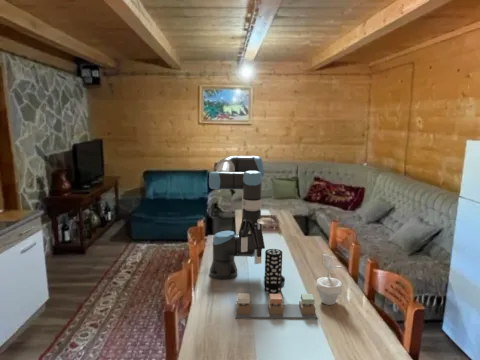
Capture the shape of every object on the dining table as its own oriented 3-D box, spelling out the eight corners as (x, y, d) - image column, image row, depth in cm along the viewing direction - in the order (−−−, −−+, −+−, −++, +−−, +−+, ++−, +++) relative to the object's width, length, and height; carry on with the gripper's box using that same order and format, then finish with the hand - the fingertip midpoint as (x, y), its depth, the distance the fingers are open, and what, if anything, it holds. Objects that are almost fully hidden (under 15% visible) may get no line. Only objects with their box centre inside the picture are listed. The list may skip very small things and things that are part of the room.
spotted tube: (271, 284, 188) (272, 247, 185) (284, 290, 182) (285, 252, 179) (260, 289, 183) (261, 251, 179) (273, 295, 177) (274, 256, 173)
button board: (235, 305, 167) (235, 297, 166) (312, 306, 168) (312, 298, 167) (235, 318, 156) (235, 310, 155) (317, 319, 157) (318, 310, 156)
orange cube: (269, 304, 164) (269, 293, 163) (280, 304, 164) (280, 293, 163) (270, 310, 159) (270, 299, 158) (281, 310, 159) (282, 299, 158)
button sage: (300, 304, 164) (300, 293, 163) (311, 304, 164) (312, 294, 163) (302, 310, 159) (303, 299, 158) (314, 310, 159) (314, 299, 158)
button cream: (237, 304, 164) (238, 293, 163) (249, 304, 164) (249, 293, 163) (238, 310, 159) (238, 299, 158) (249, 310, 159) (249, 299, 158)
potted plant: (310, 298, 175) (313, 248, 170) (330, 294, 179) (333, 245, 175) (326, 311, 163) (329, 257, 159) (347, 306, 168) (351, 254, 164)
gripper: (231, 202, 161) (231, 248, 165) (256, 217, 138) (255, 270, 142) (247, 200, 164) (246, 245, 168) (274, 215, 141) (272, 267, 145)
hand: (250, 257), depth 155 cm, fingers open, 13 cm apart
